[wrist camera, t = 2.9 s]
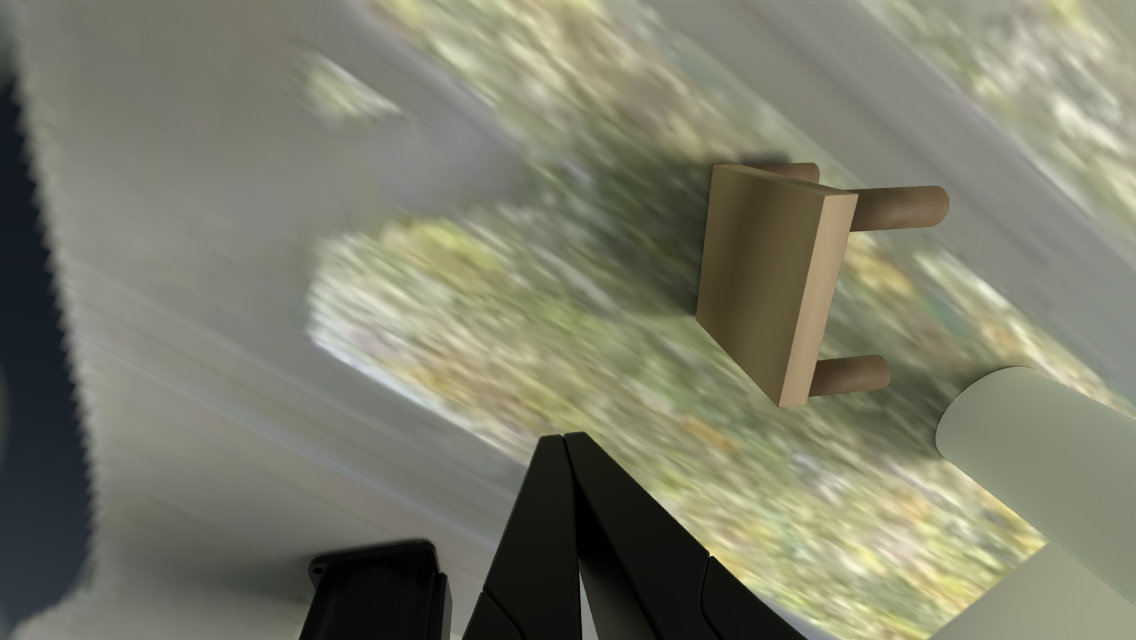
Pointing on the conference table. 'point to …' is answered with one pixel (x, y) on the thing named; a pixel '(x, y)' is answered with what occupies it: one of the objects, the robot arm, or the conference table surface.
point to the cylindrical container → (1052, 465)
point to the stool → (792, 271)
